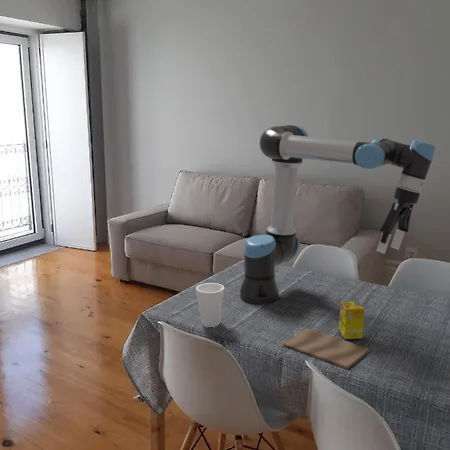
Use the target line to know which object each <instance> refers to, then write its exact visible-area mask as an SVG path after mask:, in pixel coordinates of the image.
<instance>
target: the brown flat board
mask: <svg viewBox="0 0 450 450" xmlns="http://www.w3.org/2000/svg"><path fill="white" fill-rule="evenodd" d="M283 345H284V346H283ZM282 346H283V347H285V346H286V348H288V347H289V348H288V349H290V348H291V350H293V349H294V350H293V351H296V350H297V351H296V352H299V351H300V352H299V353H301V352H303V353H302V354H304V353H306V354H305V355H307V354H308V355H307V356H310V357H313V358H316V359H318V360H321V361H323V362H327V363H329V364H332V365H334V366H338V367H339V368H343V369H346V370H349V368H351V367H352V366H354V365H355V364H356V363H357V362H358V361H360V360H361V359H362V358H363V357H364V356H365V355H367V354H369V352H370V350H371V348H369V347H365V346H362V345H360V344H357V343H354V342H352V341H345V340H344V339H343V338H338V337H336V336H335V337H334V336H331V335H329V334H326V333H323V332H320V331H316V330H314V329H311V328H306V329H304V330H303V331H301V332H299V333H298V334H296V335H294V336H292V337H290V338H289V339H287V340H286V341H284V342H283V343H282Z"/></svg>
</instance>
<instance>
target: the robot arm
mask: <svg viewBox="0 0 450 450" xmlns="http://www.w3.org/2000/svg"><path fill="white" fill-rule="evenodd" d="M259 147H260V148H259V149H260V152H261V153H262V154H263V155H264V156H265V157H267V158H269V159H271V161H272V163H273V164H274V177H273V178H274V180H273V189H272V191H273V192H272V204H271V205H272V206H271V219H270V225H269V226H267V228H266V232H265V233H266V234H259V235H252V236H250V237H249V238H247V239H246V240H245V242H244V248H243V252H244V260H243V261H244V262H243V263H244V268H243V269H244V278H243V281H242V283H241V287H240V290H239V298H240V300H242V301H243V302H246V303H249V304H253V305H254V304H255V305H267V304H272V303H274V302H276V301H278V300H279V298H280V290H279V288H278V283H277V281H276V266H277V267H278V266H279V265H281V264H284V263H286V262H289V261H291V260H292V259H293V258H295V257H296V256H297V254H298V252H299V250H300V247H301V246H300V239H299V238H298V236H297V231H296V229H295V228H294V226H293V224H294V214H295V213H294V212H295V201H296V192H297V191H296V190H297V179H298V168H299V166H300V165H301V164H303V159H304V160H310V161H311V160H312V161H318V162H319V161H320V162H327V163H337V164H343V165H350V166H351V165H353V166H358V167H361V168H363V169H366V170H369V169H371V170H372V169H376V168H378V167H382V166H386V165H392V166H395V167H399V168H401V169H402V171H401V174H400V176H399V180H398V181H397V185H398V186H397V187H396V188H395V191H394V194H393V198H394V199H395V200H397V202H393V203H392V205H391V208H390V210H389V212H388V214H387V216H386V218H385V220H384V222H383V224H382V226H381V228H380V229H379V232H381V236H380V238H379V242H378V244H377V246H376V250H375V251H376V252H379V253H381V254H383V255H385V254H386V252H387V249H388V246H389V242H390V240H391V237H392V233H393V230H394V228H395V227H396V225H397V226H398V227H397V229H396V230H395V233H394V236H393V239H392V242H391V245H390V248H392V249H395V250H397V251H399V249H400V247H401V244H402V242H403V238H404V235H405V233H408V232H409V227H410V222H411V217H412V211H413V208H414V205H416V204H418V202H419V201H418V200H419V199H420V196H421V194H420V192H421V191H422V190H423V187H425V186H426V183H425V180H426V177H427V175H428V172H429V169H430V167H431V164H432V161H434V160H433V158H434V156H435V155H434V154H435V151H436V146H435V145H434V144H431V143H427V142H423V141H419V140H417V139H415V140H412V141H411V143H410V144H406V143H402V142H399V141H394V140H391V139H389V138H382V137H376V138H375V139H373V140H372V142H364V141H356V140H347V139H338V138H337V139H335V138H325V137H315V136H309V135H308V133H307V131H306V130H305V129H304V128H303V127H301V126H300V125H294V124H287V125H280V126H279V125H278V126H277V125H275V126H272V127H268V128H267V129H266V130H264V131H263V132H262V134H261V136H260V138H259Z"/></svg>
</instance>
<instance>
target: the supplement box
mask: <svg viewBox="0 0 450 450" xmlns="http://www.w3.org/2000/svg"><path fill="white" fill-rule="evenodd" d="M339 304H340V308H339V324H338V325H339V327H338V333H339V335H340V336H341V339H342V340H345V341H348V342H354V341H355V342H356V341H363V337H364V336H363V333H364V318H365V308H364V307H363V306H362V304H361V303H360V302H359V301H341V302H340V303H339Z"/></svg>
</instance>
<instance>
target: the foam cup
mask: <svg viewBox="0 0 450 450" xmlns="http://www.w3.org/2000/svg"><path fill="white" fill-rule="evenodd" d="M195 295H196V299H197V305H198V310H199V317H200V323H202V324H201V325H203V326H202V327H204V326H205V327H204V328H208V327H213V328H216V327H215V326H217V327H219V326H220V325H221V321H222V311H223V303H224V295H225V286H224V285H223V284H220V283H217V282H207V283H206V282H205V283H201V284H199V285H197V286H196V287H195ZM219 324H220V325H219ZM218 325H219V326H218Z"/></svg>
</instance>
